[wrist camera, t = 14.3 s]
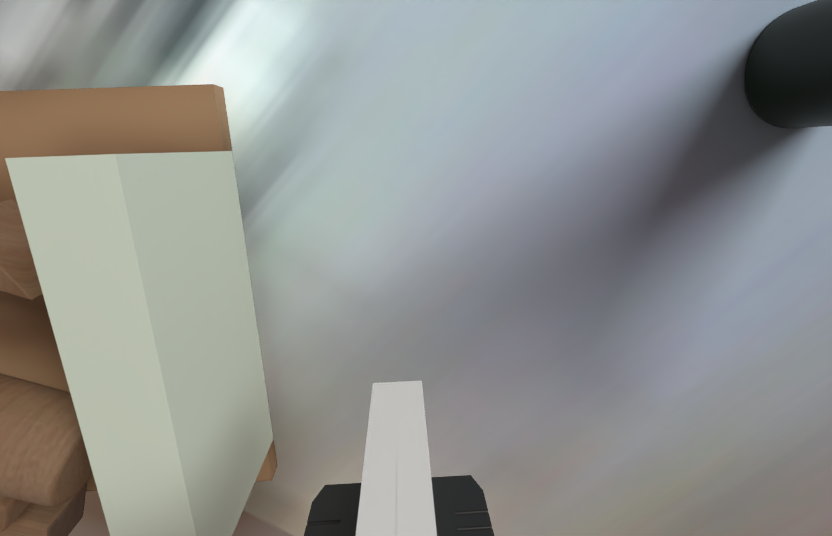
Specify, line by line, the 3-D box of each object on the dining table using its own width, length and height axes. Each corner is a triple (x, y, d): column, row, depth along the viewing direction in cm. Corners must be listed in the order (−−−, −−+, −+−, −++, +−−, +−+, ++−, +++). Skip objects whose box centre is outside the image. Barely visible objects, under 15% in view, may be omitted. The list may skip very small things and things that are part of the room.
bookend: (168, 153, 21) (4, 158, 12) (232, 151, 21) (115, 153, 12) (220, 441, 25) (127, 596, 16) (273, 438, 25) (207, 591, 17)
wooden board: (-246, 103, 21) (-370, 94, 17) (223, 87, 21) (190, 76, 18) (-87, 487, 27) (-157, 536, 23) (277, 466, 27) (260, 511, 24)
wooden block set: (-25, 458, 27) (144, 500, 28) (-211, 613, 19) (37, 662, 20) (-28, 185, 21) (190, 256, 22) (-308, 244, 13) (61, 350, 14)
